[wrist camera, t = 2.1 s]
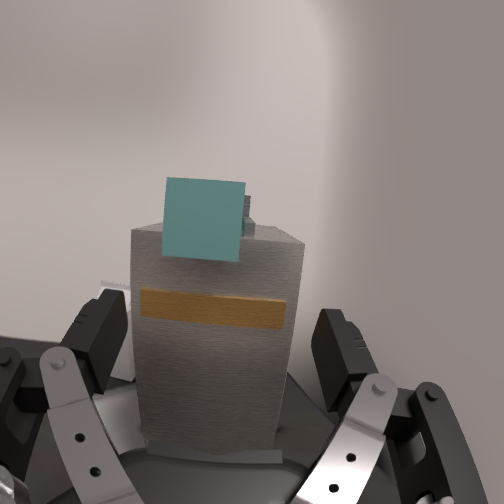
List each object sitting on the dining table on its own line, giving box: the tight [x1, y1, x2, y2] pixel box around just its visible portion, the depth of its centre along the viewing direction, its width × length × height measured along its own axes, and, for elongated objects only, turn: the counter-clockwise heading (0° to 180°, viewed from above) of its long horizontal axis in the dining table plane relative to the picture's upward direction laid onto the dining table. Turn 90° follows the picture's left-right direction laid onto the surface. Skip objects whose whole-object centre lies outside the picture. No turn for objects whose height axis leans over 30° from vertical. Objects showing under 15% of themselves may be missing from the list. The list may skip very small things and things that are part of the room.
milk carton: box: [97, 281, 135, 382], centre depth 52 cm, size 7×7×19 cm
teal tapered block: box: [162, 177, 246, 262], centre depth 26 cm, size 27×4×4 cm, turn 3°
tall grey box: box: [130, 195, 305, 455], centre depth 35 cm, size 20×14×36 cm
